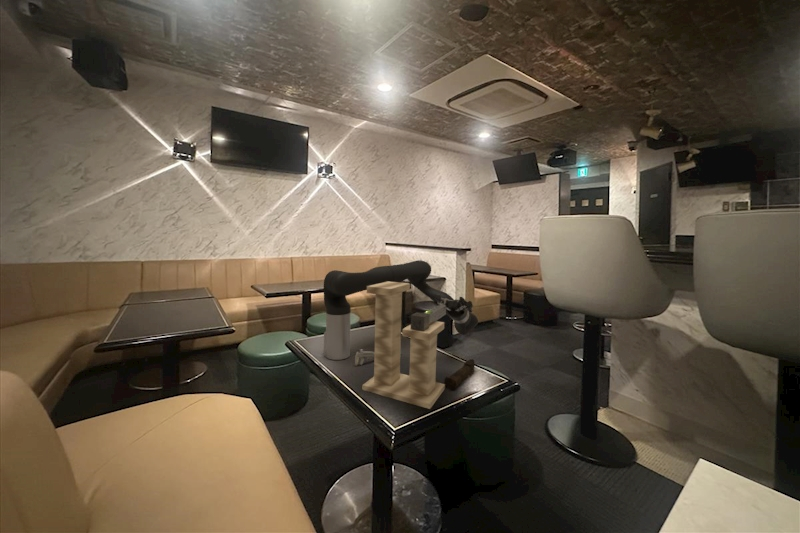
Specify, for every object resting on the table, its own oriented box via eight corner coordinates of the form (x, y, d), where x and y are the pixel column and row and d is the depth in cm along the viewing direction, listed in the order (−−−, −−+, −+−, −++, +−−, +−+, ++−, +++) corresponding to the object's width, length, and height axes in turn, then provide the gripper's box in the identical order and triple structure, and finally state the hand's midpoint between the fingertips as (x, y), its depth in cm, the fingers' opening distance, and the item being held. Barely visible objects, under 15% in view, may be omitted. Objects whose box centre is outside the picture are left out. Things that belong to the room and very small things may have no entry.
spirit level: (410, 329, 86) (411, 315, 86) (436, 312, 106) (437, 301, 105) (423, 331, 84) (424, 317, 84) (448, 314, 104) (448, 302, 104)
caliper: (356, 367, 110) (356, 350, 110) (354, 366, 111) (354, 349, 110) (401, 355, 122) (401, 340, 122) (399, 354, 123) (400, 339, 123)
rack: (362, 389, 93) (363, 285, 90) (383, 373, 105) (385, 281, 102) (429, 409, 84) (434, 293, 81) (444, 388, 95) (449, 287, 92)
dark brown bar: (454, 392, 94) (455, 377, 94) (443, 388, 96) (444, 373, 96) (480, 372, 109) (481, 359, 108) (470, 369, 111) (471, 356, 111)
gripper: (443, 301, 128) (432, 286, 115) (477, 305, 122) (470, 290, 108) (439, 318, 125) (428, 305, 112) (474, 323, 119) (466, 310, 106)
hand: (448, 297), depth 110 cm, fingers open, 8 cm apart
